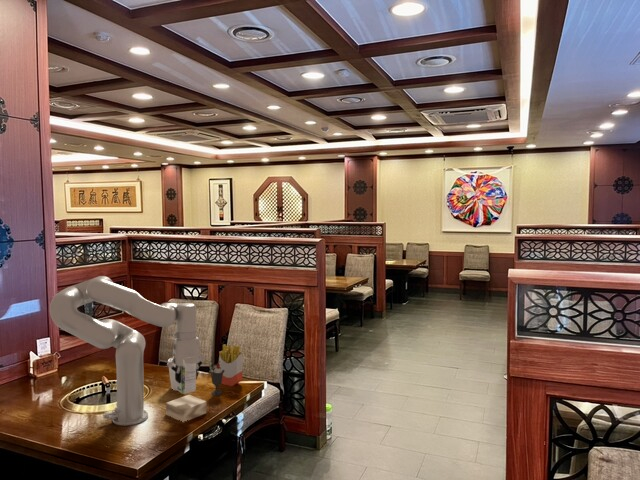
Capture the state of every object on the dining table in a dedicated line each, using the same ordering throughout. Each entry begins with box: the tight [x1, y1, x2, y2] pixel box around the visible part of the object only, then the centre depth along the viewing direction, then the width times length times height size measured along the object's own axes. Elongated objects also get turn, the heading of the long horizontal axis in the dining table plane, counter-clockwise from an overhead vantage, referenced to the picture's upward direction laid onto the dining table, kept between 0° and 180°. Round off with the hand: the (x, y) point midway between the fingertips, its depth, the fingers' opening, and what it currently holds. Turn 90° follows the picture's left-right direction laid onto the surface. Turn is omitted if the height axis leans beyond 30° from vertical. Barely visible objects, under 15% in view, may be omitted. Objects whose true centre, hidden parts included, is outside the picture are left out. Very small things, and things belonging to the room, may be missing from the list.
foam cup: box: [167, 357, 178, 391], centre depth 211 cm, size 10×9×13 cm
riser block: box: [165, 394, 208, 423], centre depth 185 cm, size 11×11×5 cm
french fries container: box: [218, 343, 244, 387], centre depth 217 cm, size 5×11×18 cm, turn 63°
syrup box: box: [176, 356, 197, 395], centre depth 184 cm, size 6×6×14 cm
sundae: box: [208, 360, 225, 396], centre depth 206 cm, size 7×7×15 cm
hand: (186, 379), depth 184 cm, fingers closed on syrup box, 5 cm apart
